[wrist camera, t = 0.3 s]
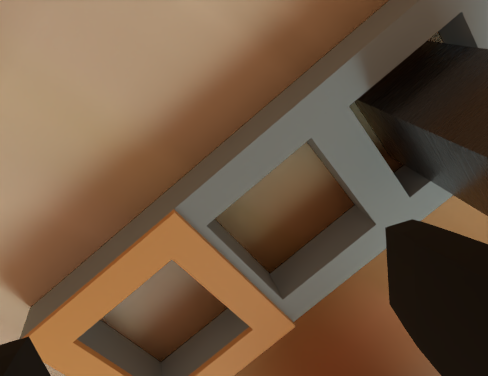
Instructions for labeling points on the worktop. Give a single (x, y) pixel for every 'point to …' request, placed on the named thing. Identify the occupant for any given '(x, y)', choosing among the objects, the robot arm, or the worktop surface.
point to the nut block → (437, 117)
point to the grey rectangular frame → (237, 184)
